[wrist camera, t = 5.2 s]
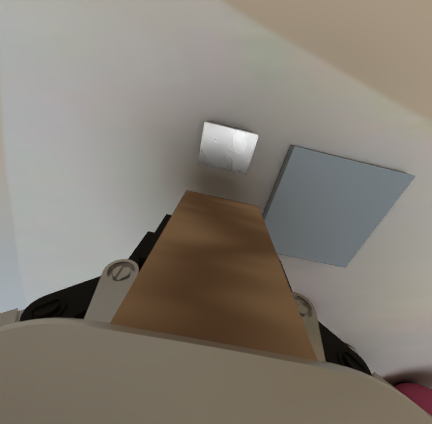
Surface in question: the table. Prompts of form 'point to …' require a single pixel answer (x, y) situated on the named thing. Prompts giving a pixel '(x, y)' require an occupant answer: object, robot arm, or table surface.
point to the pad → (328, 205)
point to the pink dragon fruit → (417, 395)
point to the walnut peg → (217, 281)
